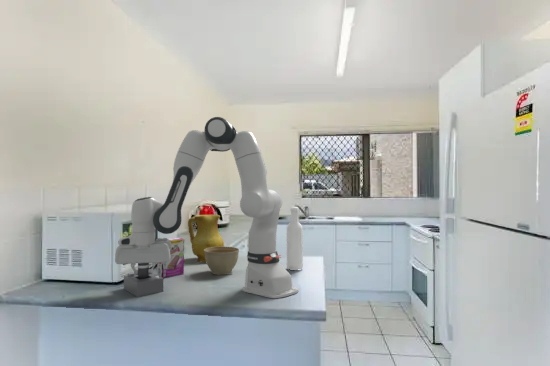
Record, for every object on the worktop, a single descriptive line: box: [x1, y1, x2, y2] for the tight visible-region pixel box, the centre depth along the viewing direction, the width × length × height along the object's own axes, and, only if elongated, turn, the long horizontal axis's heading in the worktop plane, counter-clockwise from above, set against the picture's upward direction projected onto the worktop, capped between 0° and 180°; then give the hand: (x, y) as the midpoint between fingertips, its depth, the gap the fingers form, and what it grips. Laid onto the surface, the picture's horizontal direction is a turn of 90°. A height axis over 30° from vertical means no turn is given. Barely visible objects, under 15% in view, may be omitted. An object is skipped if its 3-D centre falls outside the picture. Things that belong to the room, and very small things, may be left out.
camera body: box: [123, 272, 164, 298], centre depth 139 cm, size 14×10×6 cm
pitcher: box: [187, 214, 225, 263], centre depth 195 cm, size 17×19×25 cm
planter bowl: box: [204, 246, 240, 276], centre depth 166 cm, size 16×16×11 cm
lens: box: [137, 263, 150, 280], centre depth 139 cm, size 4×4×8 cm
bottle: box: [286, 206, 304, 270], centre depth 173 cm, size 8×8×30 cm
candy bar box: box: [156, 237, 185, 279], centre depth 161 cm, size 11×5×16 cm, turn 137°
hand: (143, 274), depth 139 cm, fingers closed on lens, 4 cm apart
